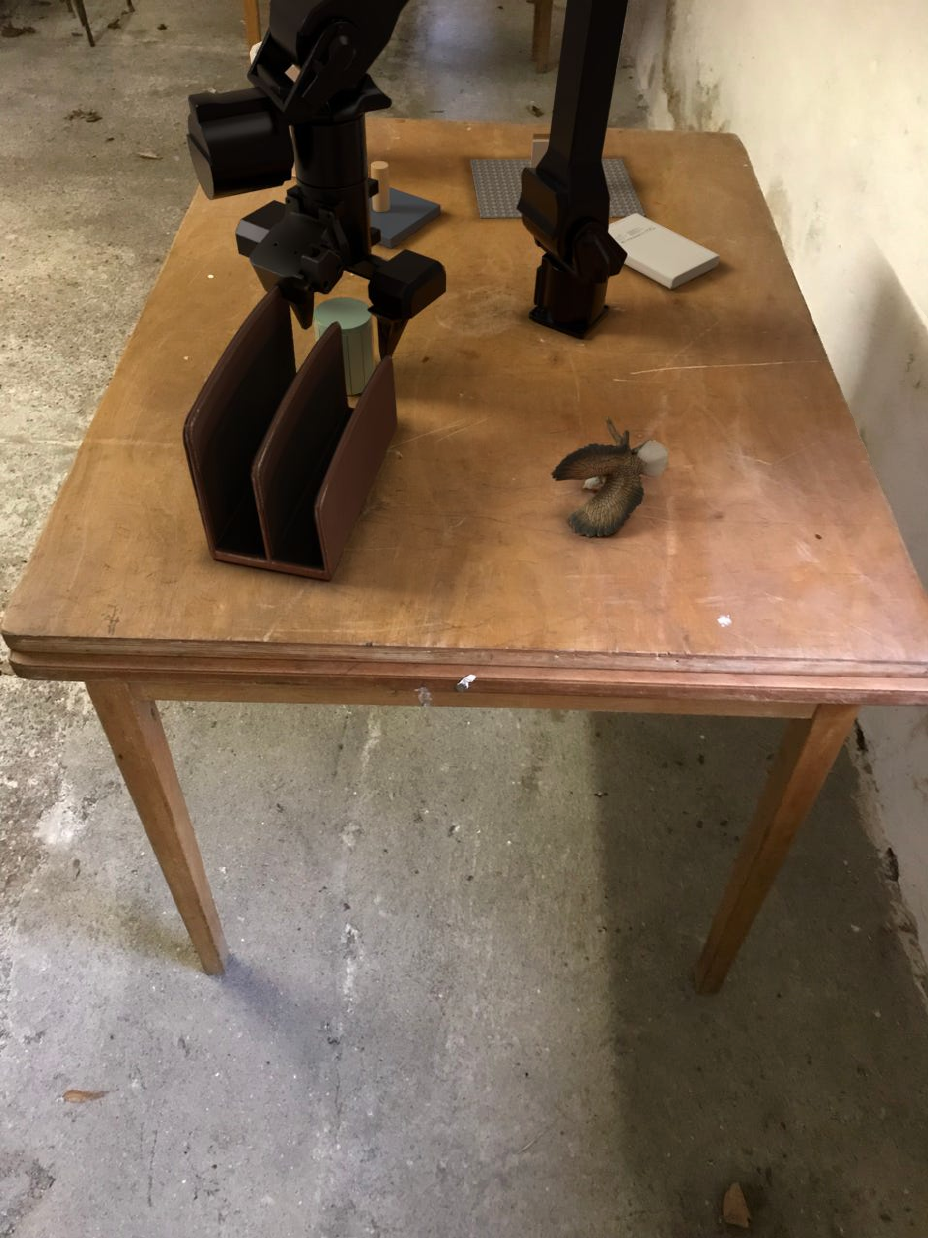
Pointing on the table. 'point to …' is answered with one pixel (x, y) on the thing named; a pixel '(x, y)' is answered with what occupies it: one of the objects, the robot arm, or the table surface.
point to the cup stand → (397, 209)
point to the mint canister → (350, 337)
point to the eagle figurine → (610, 480)
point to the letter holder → (285, 446)
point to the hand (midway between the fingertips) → (345, 344)
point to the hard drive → (661, 251)
